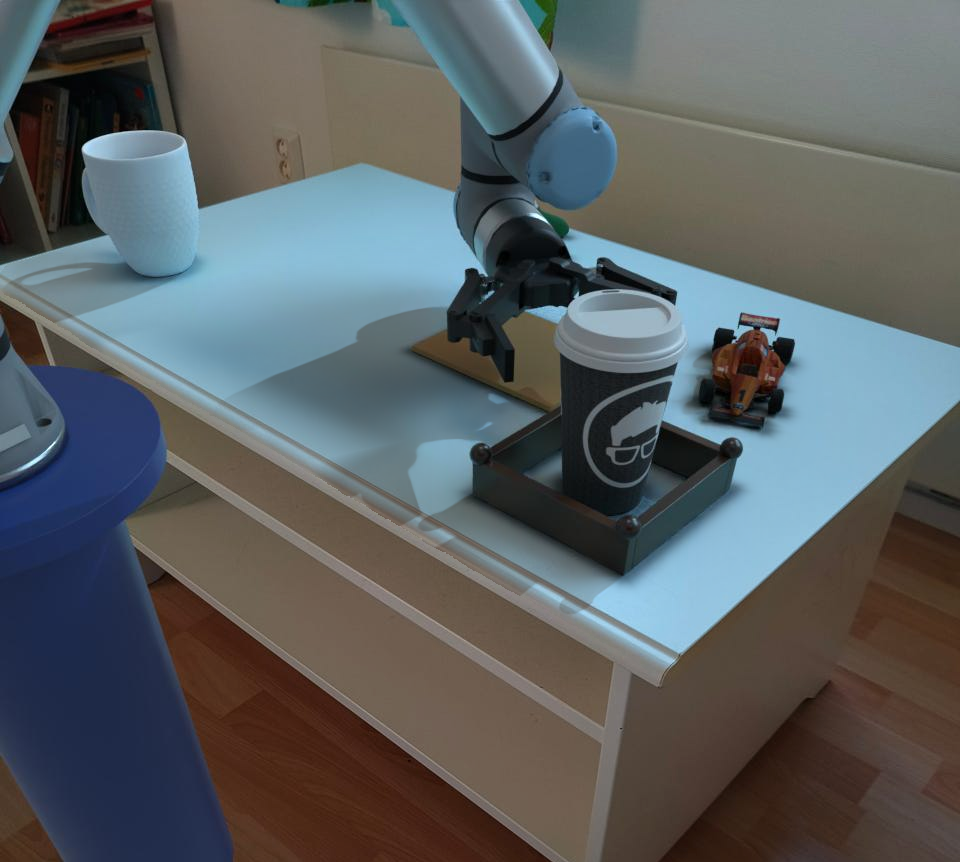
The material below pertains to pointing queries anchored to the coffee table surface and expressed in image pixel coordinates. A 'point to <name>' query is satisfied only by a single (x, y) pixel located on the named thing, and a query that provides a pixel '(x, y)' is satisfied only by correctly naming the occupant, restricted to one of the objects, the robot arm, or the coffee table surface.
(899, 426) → the coffee table surface
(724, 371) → the toy car
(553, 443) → the dark square frame
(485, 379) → the cork mat
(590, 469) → the coffee cup
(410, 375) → the coffee table surface
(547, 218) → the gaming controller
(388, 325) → the coffee table surface
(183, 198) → the mug
